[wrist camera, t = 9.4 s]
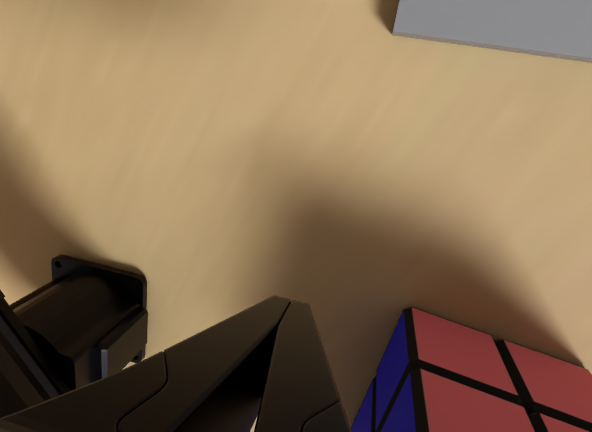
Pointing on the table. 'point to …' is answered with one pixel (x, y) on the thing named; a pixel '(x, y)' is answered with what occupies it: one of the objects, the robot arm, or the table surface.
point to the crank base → (502, 25)
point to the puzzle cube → (470, 384)
